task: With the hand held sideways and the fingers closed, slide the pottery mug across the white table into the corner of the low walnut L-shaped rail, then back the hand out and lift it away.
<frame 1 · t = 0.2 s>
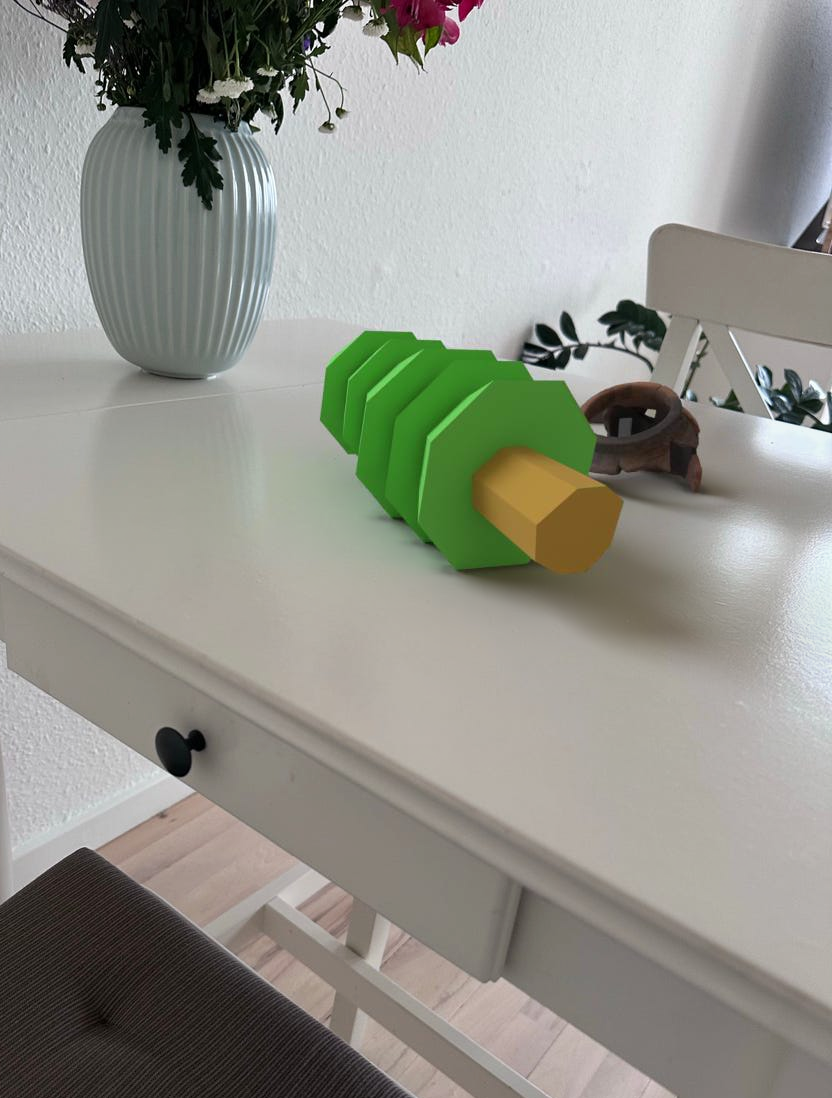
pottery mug: (625, 483, 71), on the table
decorative tree: (427, 519, 59), on the table
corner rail: (531, 421, 85), on the table
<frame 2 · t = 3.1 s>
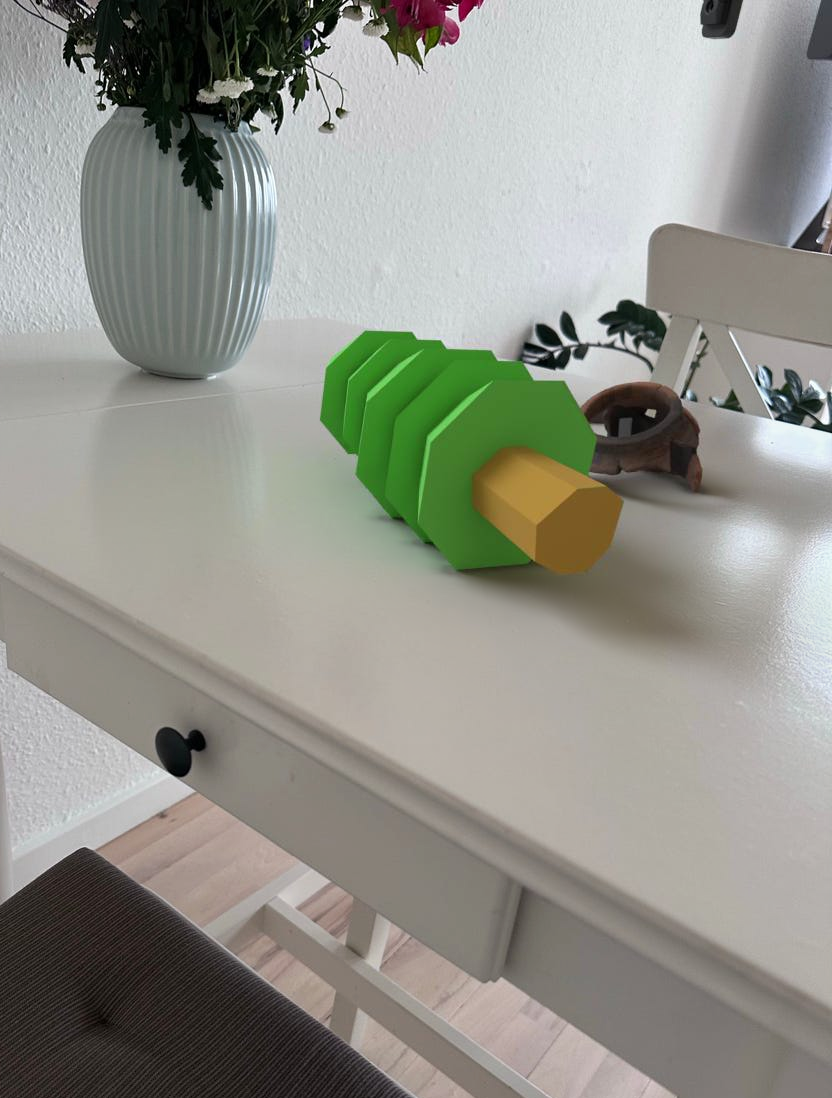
hand: (770, 49, 59), 28 cm above the table, tool pointing down, fingers open, 8 cm apart
nothing on the table moved.
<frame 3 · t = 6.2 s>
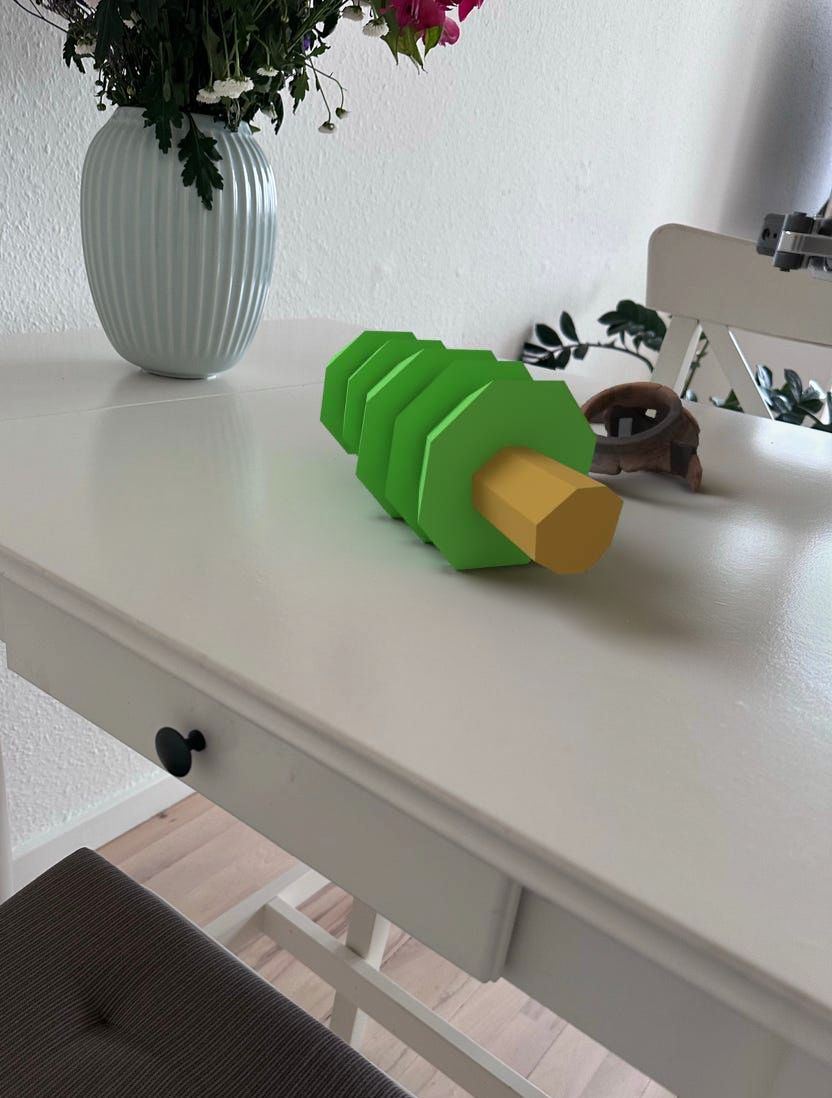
hand: (770, 234, 56), 18 cm above the table, tool horizontal, fingers closed
nothing on the table moved.
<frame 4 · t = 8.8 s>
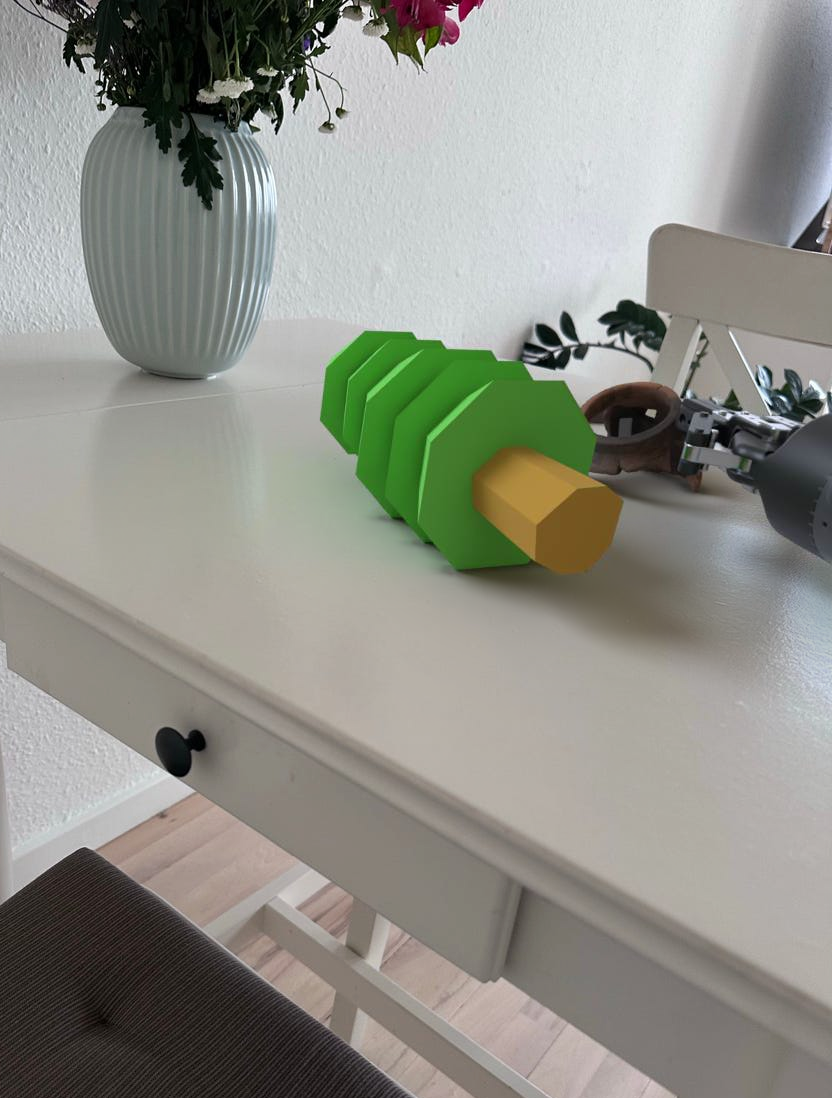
hand: (688, 413, 64), 6 cm above the table, tool horizontal, fingers closed
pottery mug: (625, 483, 71), on the table, touching gripper
everything else where it was.
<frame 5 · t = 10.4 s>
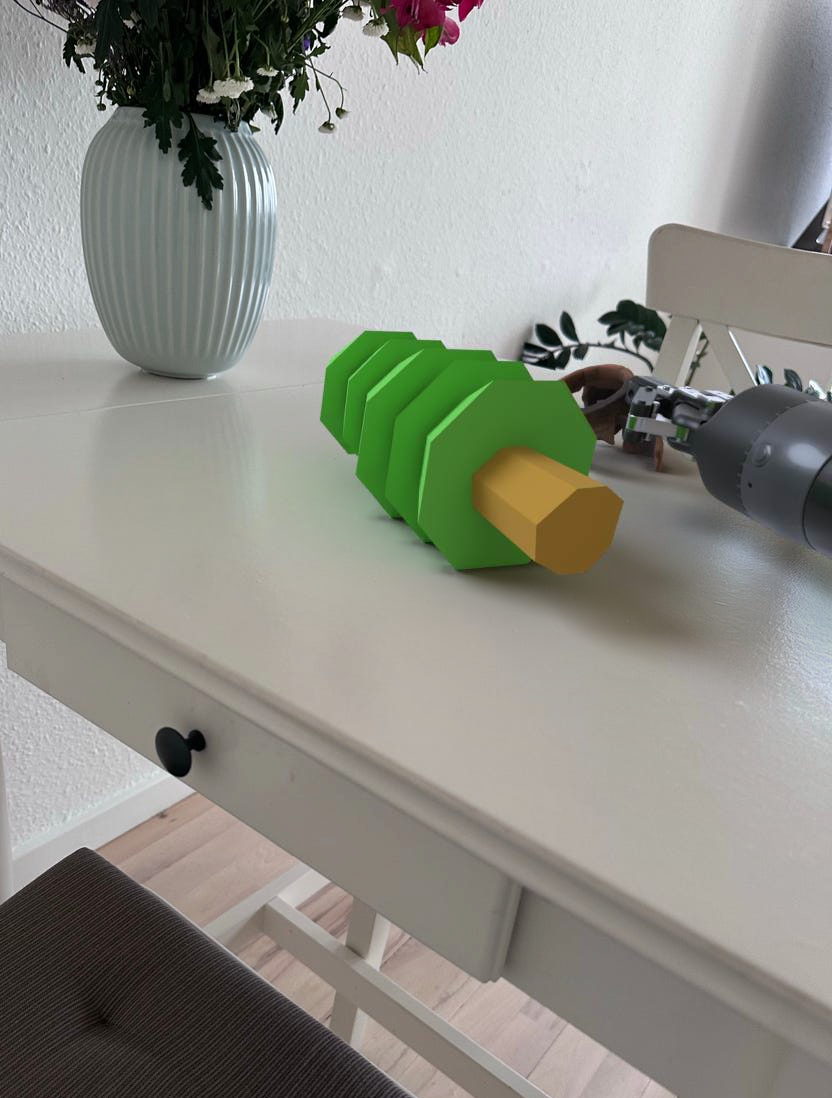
hand: (637, 389, 69), 6 cm above the table, tool horizontal, fingers closed
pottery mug: (594, 460, 76), on the table, touching gripper
everything else where it was.
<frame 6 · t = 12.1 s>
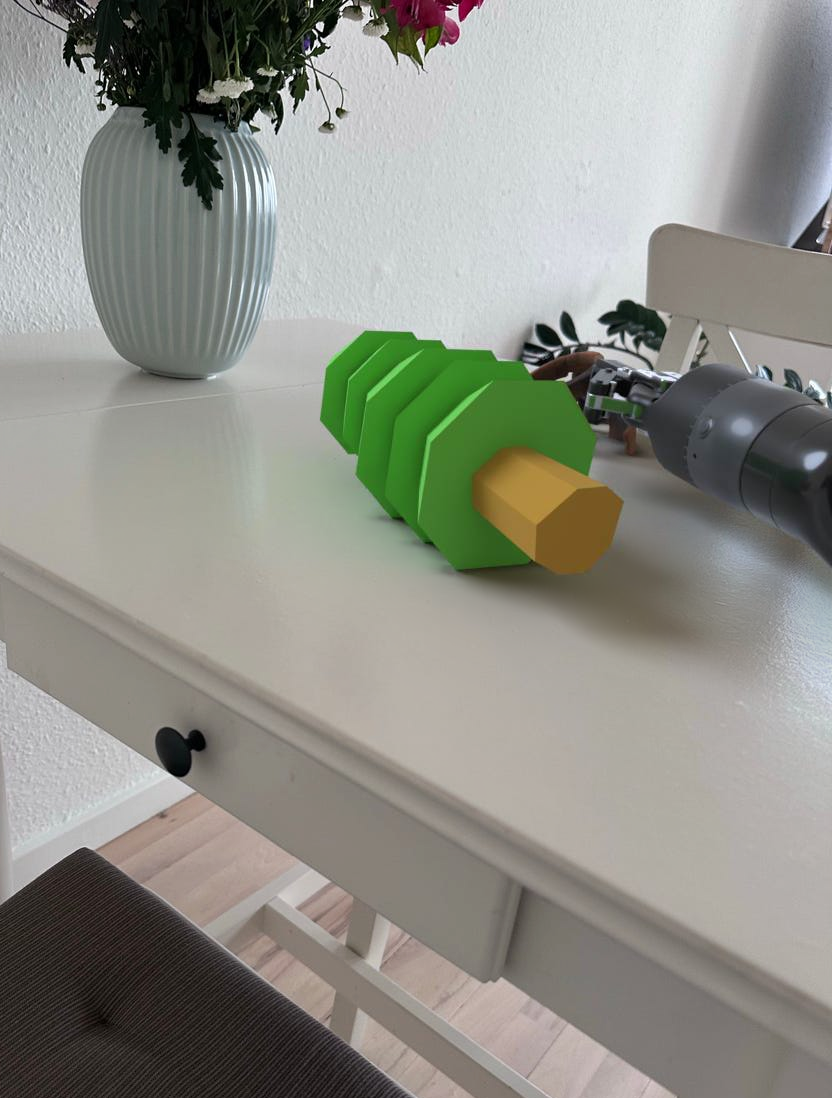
hand: (601, 372, 73), 6 cm above the table, tool horizontal, fingers closed
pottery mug: (575, 442, 80), on the table, touching gripper
everything else where it was.
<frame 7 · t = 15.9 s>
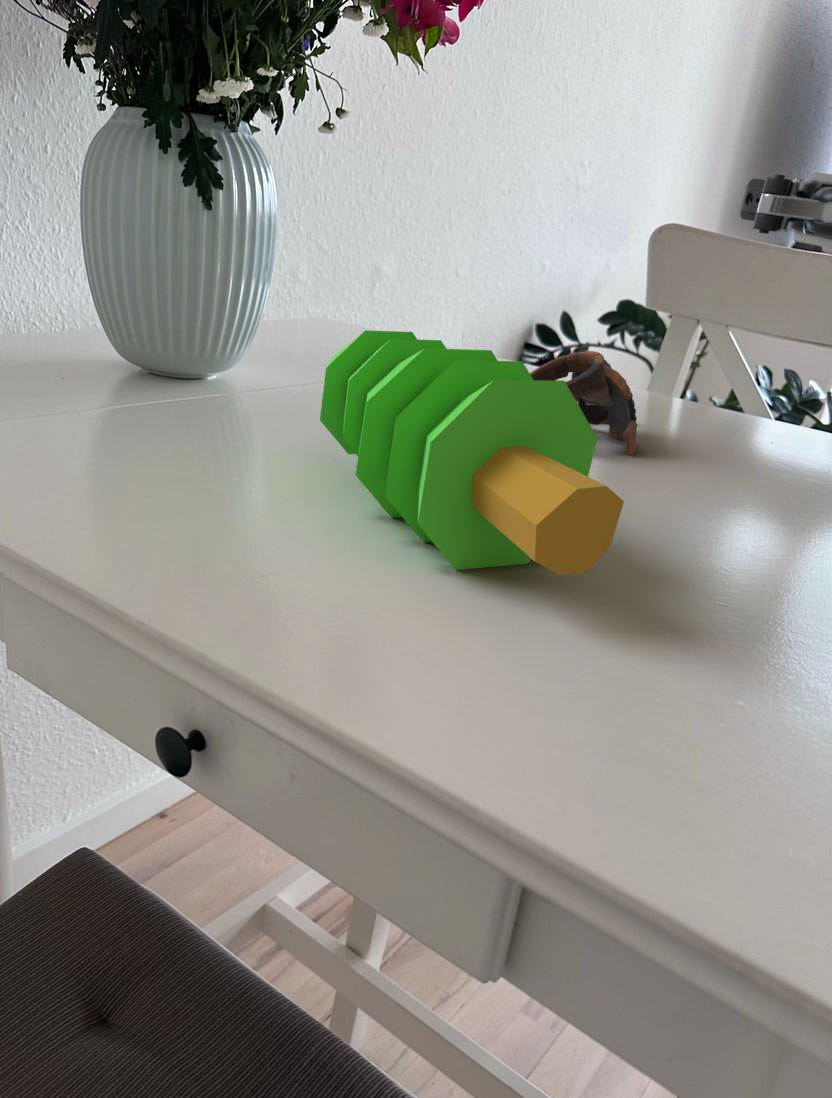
hand: (754, 199, 58), 20 cm above the table, tool horizontal, fingers closed
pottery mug: (575, 442, 80), on the table
everything else where it was.
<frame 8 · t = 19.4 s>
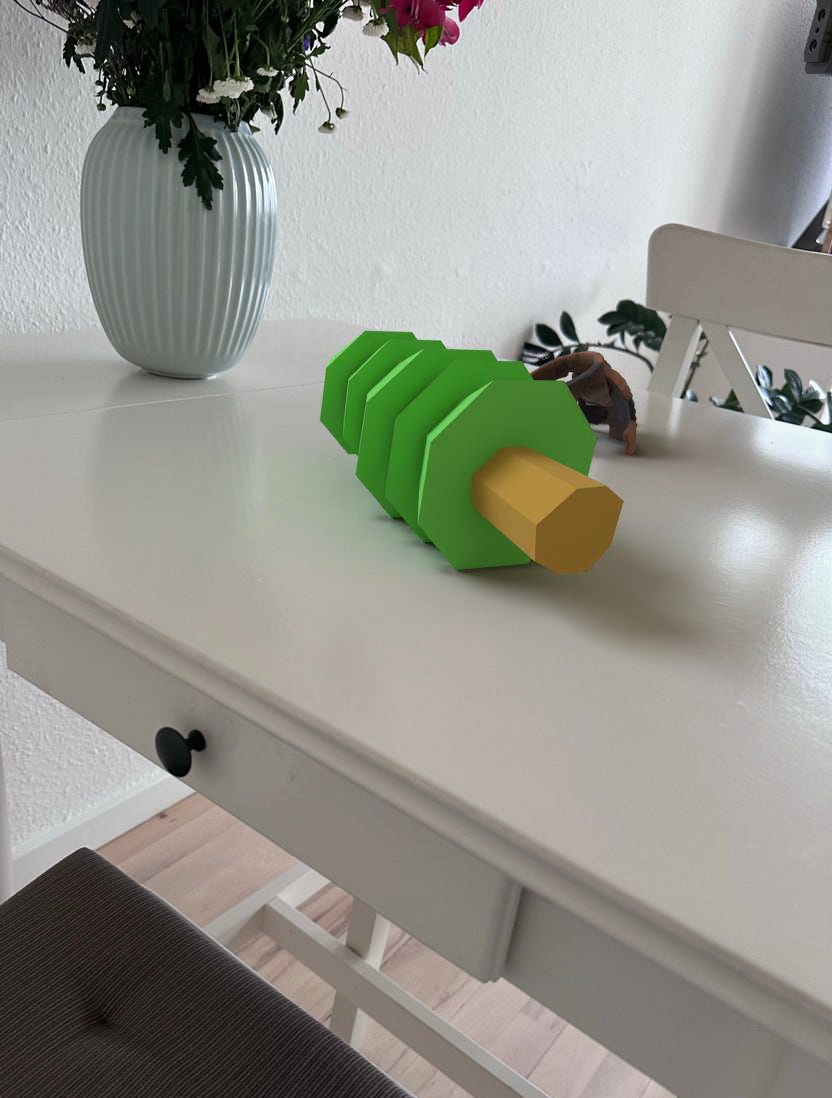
hand: (824, 74, 61), 27 cm above the table, tool pointing down, fingers closed
nothing on the table moved.
at the end: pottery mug inside the target area (1.5 cm from its centre), on the table; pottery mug tilted 0°; the gripper is holding nothing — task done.
